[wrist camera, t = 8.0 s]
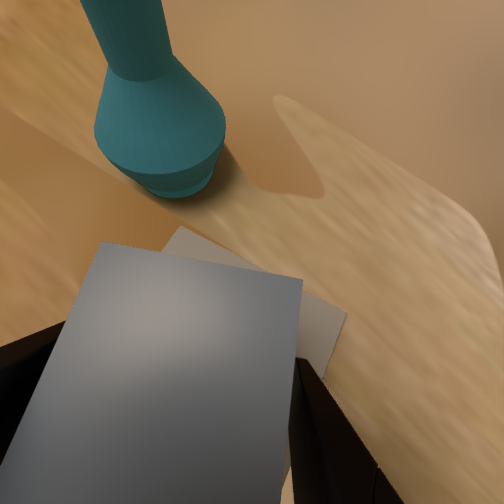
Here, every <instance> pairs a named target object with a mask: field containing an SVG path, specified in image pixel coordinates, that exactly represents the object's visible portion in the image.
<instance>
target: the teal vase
mask: <svg viewBox="0 0 504 504" xmlns="http://www.w3.org/2000/svg"><path fill="white" fill-rule="evenodd" d="M80 2H81V4H82V6H83V8H84V10H85V13H86V15H87V17H88V19H89V22H90V24H91V26H92V28H93V31H94V33H95V35H96V37H97V40H98V42H99V44H100V46H101V49H102V51H103V53H104V55H105V58H106V60H107V62H108V68H107V73H106V78H105V82H104V87H103V91H102V95H101V98H100V101H99V106H98V110H97V115H96V120H95V125H94V133H95V139H96V141H97V144H98V146H99V148H100V149H101V151H102V152H103V154H104V155H105V156H106V157H107V158H108V160H109V161H110V162H111V163H112V164H113V165H114V166H115V167H117V168H118V169H119V170H120V171H121V172H123V173H124V174H126V175H127V176H129V177H130V178H132V179H134V180H136V181H137V182H138V183H139V184H141V185H143V186H144V187H145V188H146V189H148V190H149V191H150V192H152V193H153V194H155V195H158V196H161V197H164V198H183V197H187V196H190V195H193V194H195V193H196V192H198V191H200V190H201V189H202V188H203V187H205V186H206V184H207V183H208V182H209V180H210V178H211V176H212V173H213V168H214V167H215V165H216V161H217V159H218V157H219V155H220V153H221V150H222V147H223V143H224V139H225V129H226V127H225V126H226V123H225V116H224V113H223V110H222V108H221V106H220V105H219V103H218V102H217V101H216V99H215V98H214V97H213V96H212V95H211V94H210V93H209V92H208V91H207V90H206V89H205V87H204V86H203V85H201V83H200V82H199V81H197V80H196V79H195V78H194V77H193V76H192V75H191V73H190V72H189V71H188V70H187V69H186V68H185V67H184V66H183V65H182V64H181V63H180V62H179V61H178V60H177V58H176V57H175V56H174V55H173V54H172V49H171V45H170V40H169V35H168V31H167V26H166V21H165V17H164V12H163V7H162V2H161V0H80Z"/></svg>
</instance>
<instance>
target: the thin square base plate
mask: <svg viewBox="0 0 504 504" xmlns="http://www.w3.org/2000/svg"><path fill="white" fill-rule="evenodd" d="M161 253H166V254H172V255H177V256H182V257H187V258H193V259H198V260H203V261H208V262H214V263H219V264H224V265H229V266H235V267H240V268H245V269H250V270H256V271H261V272H266V273H270V272H268V271H266V270H264V269H262V268H260V267H259V266H257V265H255V264H253V263H251V262H249V261H247V260H245V259H243V258H241V257H239V256H238V255H236V254H234V253H232V252H230V251H228V250H226V249H224V248H222V247H220V246H218V245H217V244H215V243H213V242H211V241H209V240H207V239H205V238H203V237H201V236H199V235H198V234H196V233H194V232H192V231H190V230H188V229H186V228H184V227H182V226H180V227H179V228H178V229H177V231H176V232H175V234H174V235H173V236H172V238H171V239H170V240H169V242H168V243H167V245H166V246H165V247H164V248H163V250H162V251H161ZM271 274H272V273H271ZM345 316H346V312H344V311H342V310H340V309H339V308H337V307H335V306H333V305H331V304H329V303H327V302H325V301H323V300H321V299H320V298H318V297H316V296H314V295H312V294H310V293H308V292H306V291H304V290H302V296H301V305H300V315H299V325H298V335H297V344H296V354H295V357H300V358H305V359H307V360H308V361H309V362H310V364H311V365H312V367H313V368H314V370H315V371H316V373H317V374H318V376H319V377H320V379H321V380H322V379H323V376H324V373H325V370H326V368H327V365H328V362H329V360H330V357H331V354H332V351H333V349H334V346H335V343H336V341H337V338H338V335H339V332H340V330H341V327H342V324H343V322H344V319H345ZM290 466H291V459H290V447H289V436H288V432H287V442H286V452H285V462H284V471H283V481H282V487H283V485H284V482H285V479H286V476H287V474H288V471H289V468H290Z"/></svg>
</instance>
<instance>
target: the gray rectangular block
mask: <svg viewBox="0 0 504 504" xmlns="http://www.w3.org/2000/svg"><path fill="white" fill-rule="evenodd" d="M302 286H303V279H298V278H292V277H287V276H282V275H277V274H271V273H266V272H261V271H256V270H250V269H245V268H240V267H235V266H229V265H224V264H219V263H214V262H208V261H203V260H198V259H193V258H187V257H182V256H177V255H172V254H166V253H161V252H156V251H151V250H145V249H140V248H135V247H130V246H124V245H119V244H114V243H109V242H103V241H102V242H101V244H100V247H99V249H98V251H97V253H96V256H95V257H94V260H93V262H92V264H91V267H90V269H89V271H88V273H87V275H86V277H85V280H84V282H83V284H82V286H81V289H80V291H79V293H78V295H77V297H76V300H75V302H74V304H73V306H72V309H71V311H70V313H69V315H68V317H67V320H66V322H65V324H64V326H63V329H62V331H61V333H60V335H59V337H58V340H57V342H56V344H55V346H54V348H53V351H52V353H51V355H50V357H49V360H48V362H47V364H46V366H45V368H44V371H43V373H42V375H41V377H40V380H39V382H38V384H37V386H36V388H35V391H34V393H33V395H32V397H31V400H30V402H29V404H28V406H27V408H26V411H25V413H24V415H23V417H22V419H21V422H20V424H19V426H18V428H17V431H16V433H15V435H14V437H13V439H12V442H11V444H10V446H9V448H8V451H7V453H6V455H5V457H4V459H3V462H2V464H1V466H0V504H280V501H281V491H282V481H283V471H284V462H285V452H286V442H287V432H288V423H289V413H290V403H291V393H292V383H293V374H294V364H295V354H296V344H297V335H298V325H299V315H300V305H301V296H302Z"/></svg>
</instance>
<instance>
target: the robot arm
mask: <svg viewBox="0 0 504 504" xmlns="http://www.w3.org/2000/svg"><path fill="white" fill-rule="evenodd" d="M65 322H66V321H63V322H61V323H58V324H56V325H53V326H51V327H49V328H46V329H44V330H41V331H39V332H36V333H34V334H31V335H29V336H26V337H24V338H21V339H19V340H17V341H14V342H12V343H9V344H7V345H4V346H2V347H0V466H1V464H2V462H3V459H4V457H5V455H6V453H7V451H8V448H9V446H10V444H11V442H12V439H13V437H14V435H15V433H16V431H17V428H18V426H19V424H20V422H21V419H22V417H23V415H24V413H25V411H26V408H27V406H28V404H29V402H30V400H31V397H32V395H33V393H34V391H35V388H36V386H37V384H38V382H39V380H40V377H41V375H42V373H43V371H44V368H45V366H46V364H47V362H48V360H49V357H50V355H51V353H52V351H53V348H54V346H55V344H56V342H57V340H58V337H59V335H60V333H61V331H62V329H63V326H64V324H65ZM288 436H289V447H290V459H291V470H292V481H293V493H294V504H404V502H403V501H402V500H401V498H400V497H399V495H398V494H397V492H396V491H395V489H394V488H393V487H392V485H391V484H390V482H389V481H388V479H387V478H386V476H385V475H384V473H383V472H382V470H381V469H380V468H378V465H377V463H376V461H375V460H374V458H373V457H372V455H371V454H370V452H369V451H368V449H367V448H366V446H365V445H364V443H363V442H362V440H361V439H360V437H359V436H358V434H357V433H356V431H355V430H354V428H353V427H352V425H351V424H350V422H349V421H348V419H347V418H346V416H345V415H344V413H343V412H342V410H341V409H340V407H339V406H338V404H337V403H336V401H335V400H334V398H333V397H332V395H331V394H330V392H329V391H328V389H327V388H326V386H325V385H324V383H323V382H322V380H321V379H320V377H319V376H318V374H317V373H316V371H315V370H314V368H313V367H312V365H311V364H310V362H309V361H308V360H307V359H305V358H300V357H295V364H294V374H293V383H292V393H291V403H290V413H289V423H288Z"/></svg>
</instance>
